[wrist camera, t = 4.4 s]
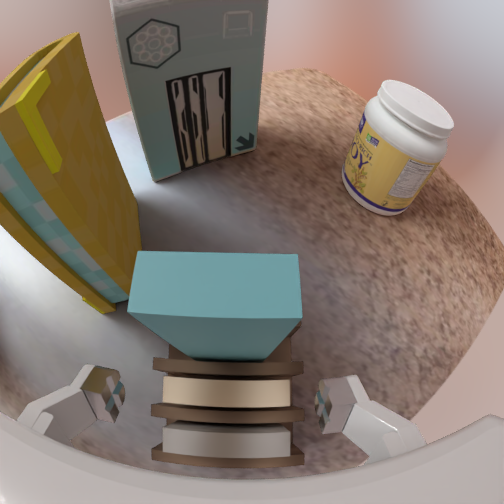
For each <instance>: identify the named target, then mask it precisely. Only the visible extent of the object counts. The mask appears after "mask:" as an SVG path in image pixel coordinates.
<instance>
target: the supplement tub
mask: <svg viewBox="0 0 504 504" xmlns="http://www.w3.org/2000/svg"><path fill="white" fill-rule="evenodd" d="M377 94H378V96H376V97H374V98H372V99H371V100H370V101H369V102H368V103H367V105H366V107H365V110H364V113H363V116H362V118H361V121H360V124H359V126H358V129H357V132H356V134H355V137H354V139H353V142H352V144H351V147H350V149H349V152H348V155H347V157H346V160H345V162H344V164H343V167H342V179H343V183H344V185H345V187H346V189H347V191H348V192H349V194H350V195H351V196H352V197H353V198H354V199H355V200H356V201H357V202H358V203H359V204H360V205H362V206H363V207H365V208H366V209H368V210H370V211H372V212H375V213H377V214H381V215H397V214H400V213H402V212H403V211H405V210H406V209H407V208H408V207H409V205H410V204H411V203H412V201H413V200H414V199H415V197H416V196H417V194H418V193H419V192H420V190H421V189H422V188H423V186H424V185H425V184H426V182H427V181H428V179H429V178H430V177H431V175H432V174H433V172H434V171H435V169H436V168H437V166H438V165H439V163H440V162H441V160H442V159H443V158H444V156H445V154H446V152H447V138H449V136H450V133H451V131H452V129H453V127H454V123H453V120H452V118H451V116H450V115H449V114H448V112H446V110H445V109H444V108H443V107H442V106H441V105H440V104H439V103H437V102H436V101H435V100H434V99H433V98H431V97H430V96H428V95H427V94H425V93H424V92H422V91H420V90H419V89H417V88H415V87H413V86H411V85H408V84H406V83H403V82H399V81H394V80H386V81H383V83H382V85H381V88H380V89H379V90H378V93H377Z"/></svg>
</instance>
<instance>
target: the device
mask: <svg viewBox="0 0 504 504" xmlns="http://www.w3.org/2000/svg"><path fill="white" fill-rule="evenodd" d="M110 6H111V13H112V19H113V25H114V31H115V36H116V42H117V47H118V52H119V57H120V62H121V66H122V71H123V75H124V80H125V84H126V88H127V92H128V96H129V100H130V104H131V108H132V112H133V116H134V119H135V123H136V127H137V130H138V134H139V137H140V141H141V144H142V147H143V151H144V154H145V157H146V161H147V164H148V167H149V170H150V173H151V176H152V180H153V181H154V182H156V181H159V180H162V179H165V178H167V177H170V176H173V175H176V174H178V173H181V172H182V171H185V170H188V169H191V168H194V167H197V166H200V165H203V164H206V163H209V162H213V161H216V160H219V159H222V158H226V157H231V156H235V155H238V154H242V153H245V152H249V151H253V150H255V149H256V145H257V132H258V120H259V107H260V95H261V83H262V70H263V58H264V46H265V34H266V23H267V11H268V0H110Z"/></svg>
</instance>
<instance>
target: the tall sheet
mask: <svg viewBox="0 0 504 504" xmlns="http://www.w3.org/2000/svg"><path fill="white" fill-rule="evenodd" d="M127 312H128V313H129V314H130V315H132V316H133V317H134V318H136V319H137V320H138V321H139V322H141V323H142V324H143V325H145V326H146V327H147V328H149V329H150V330H151V331H153V332H154V333H156V334H157V335H158V336H160V337H161V338H163V339H164V340H165V341H167V342H168V343H170V344H171V345H173V346H174V347H175V348H177V349H178V350H180V351H181V352H183V353H184V354H186V355H187V356H189V357H190V358H192V359H193V360H195V361H205V362H231V363H262V362H263V361H264V360H265V359H266V358H267V357H268V356H269V355H270V354H271V353H272V352H273V351H274V349H275V348H276V347H277V346H278V345H279V344H280V343H281V342H282V341H283V340H284V338H285V337H286V336H287V335H288V334H289V333H290V332H291V331H292V329H293V328H294V327H295V326H296V325H297V324H298V323H299V321H300V320H301V319H302V318H303V316H302V301H301V287H300V275H299V263H298V254H262V253H213V252H166V251H138V252H137V257H136V262H135V267H134V273H133V278H132V284H131V290H130V296H129V302H128V309H127Z"/></svg>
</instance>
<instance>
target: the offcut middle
mask: <svg viewBox="0 0 504 504" xmlns="http://www.w3.org/2000/svg"><path fill="white" fill-rule="evenodd" d="M163 402H167V403H175V404H185V405H197V406H213V407H284V406H290V380H264V381H238V380H209V379H193V378H180V377H170V376H164V378H163Z"/></svg>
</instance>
